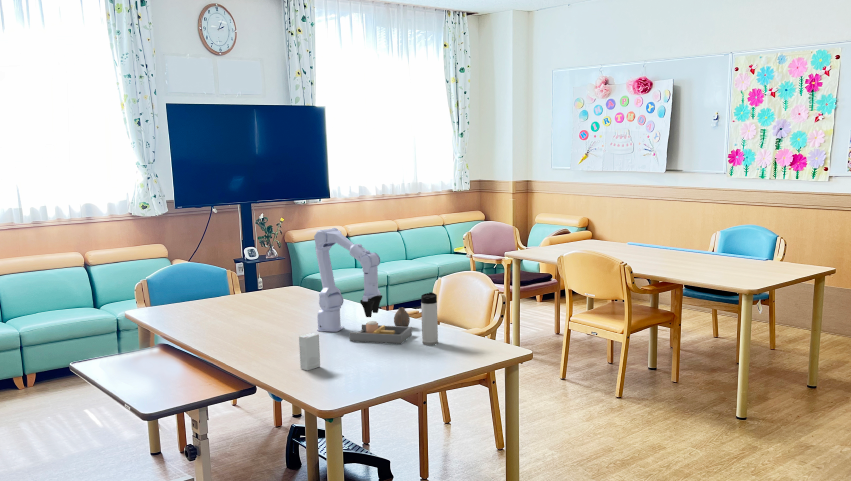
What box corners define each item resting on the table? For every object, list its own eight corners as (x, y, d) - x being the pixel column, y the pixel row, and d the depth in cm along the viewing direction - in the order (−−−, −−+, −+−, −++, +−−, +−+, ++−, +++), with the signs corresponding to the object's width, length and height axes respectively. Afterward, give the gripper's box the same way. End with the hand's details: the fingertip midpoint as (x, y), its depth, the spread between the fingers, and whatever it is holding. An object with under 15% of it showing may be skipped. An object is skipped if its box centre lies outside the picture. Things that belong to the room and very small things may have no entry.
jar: (364, 337, 281) (364, 323, 281) (368, 334, 286) (368, 320, 286) (376, 338, 280) (375, 324, 279) (380, 335, 285) (379, 321, 284)
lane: (349, 341, 279) (349, 332, 278) (362, 332, 292) (362, 324, 292) (401, 344, 272) (400, 335, 272) (411, 335, 286) (411, 327, 285)
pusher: (373, 339, 277) (373, 331, 277) (382, 332, 288) (382, 325, 287) (389, 340, 275) (389, 332, 275) (398, 333, 286) (398, 326, 285)
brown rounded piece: (407, 330, 294) (407, 310, 293) (392, 329, 296) (391, 309, 295) (411, 326, 301) (410, 306, 300) (396, 325, 302) (395, 306, 301)
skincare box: (312, 364, 248) (311, 332, 247) (321, 367, 245) (319, 334, 244) (299, 369, 244) (298, 335, 242) (307, 371, 241) (306, 337, 239)
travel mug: (440, 341, 275) (439, 292, 273) (435, 345, 269) (433, 296, 266) (425, 340, 277) (424, 292, 275) (420, 344, 271) (418, 295, 268)
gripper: (373, 286, 274) (374, 319, 276) (386, 279, 288) (387, 311, 289) (357, 285, 276) (358, 318, 278) (370, 279, 290) (371, 310, 291)
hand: (371, 314), depth 284 cm, fingers open, 7 cm apart
